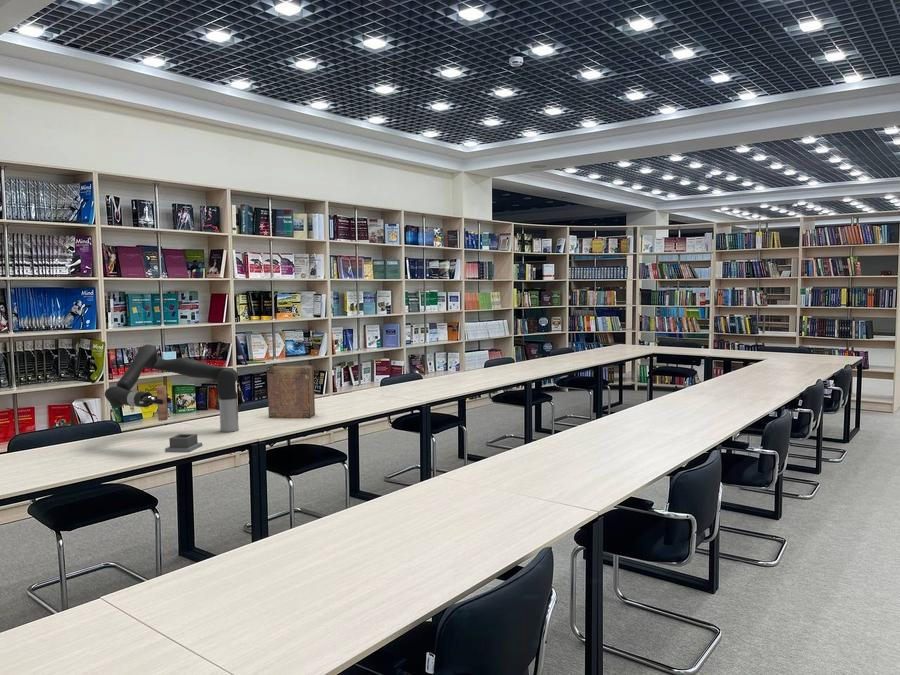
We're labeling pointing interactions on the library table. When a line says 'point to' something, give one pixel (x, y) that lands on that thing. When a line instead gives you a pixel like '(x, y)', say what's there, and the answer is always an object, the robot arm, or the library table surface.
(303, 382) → the book
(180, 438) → the socket board
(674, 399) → the library table surface
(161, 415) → the peg
